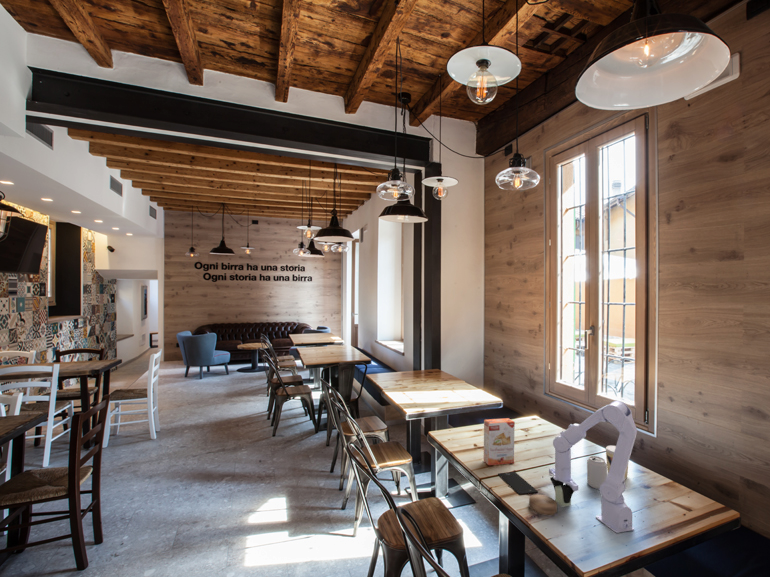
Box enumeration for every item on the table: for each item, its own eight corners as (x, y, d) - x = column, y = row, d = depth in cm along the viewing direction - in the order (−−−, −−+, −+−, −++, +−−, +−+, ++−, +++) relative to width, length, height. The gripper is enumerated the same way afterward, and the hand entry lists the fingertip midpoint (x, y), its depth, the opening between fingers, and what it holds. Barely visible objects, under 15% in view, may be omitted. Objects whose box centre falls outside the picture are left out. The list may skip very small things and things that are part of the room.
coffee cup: (603, 475, 170) (603, 449, 170) (608, 468, 177) (608, 443, 177) (627, 482, 164) (627, 455, 164) (631, 475, 171) (631, 449, 171)
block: (570, 505, 146) (570, 490, 146) (562, 506, 145) (562, 491, 145) (563, 499, 150) (563, 485, 150) (555, 501, 149) (555, 486, 149)
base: (562, 513, 140) (562, 506, 140) (540, 516, 138) (540, 510, 138) (545, 499, 150) (545, 492, 150) (524, 502, 148) (524, 495, 148)
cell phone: (514, 473, 172) (514, 471, 172) (538, 493, 155) (538, 491, 155) (497, 475, 171) (497, 473, 171) (519, 496, 153) (519, 493, 153)
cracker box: (488, 466, 178) (489, 423, 179) (483, 460, 184) (483, 419, 185) (514, 463, 181) (515, 421, 182) (508, 458, 187) (508, 417, 188)
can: (590, 479, 166) (590, 453, 166) (609, 486, 161) (609, 458, 161) (584, 485, 161) (584, 458, 161) (604, 492, 155) (604, 464, 156)
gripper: (542, 458, 154) (542, 491, 153) (567, 475, 140) (567, 511, 139) (557, 456, 155) (557, 489, 155) (582, 473, 141) (583, 508, 141)
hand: (562, 499), depth 147 cm, fingers closed on block, 4 cm apart
